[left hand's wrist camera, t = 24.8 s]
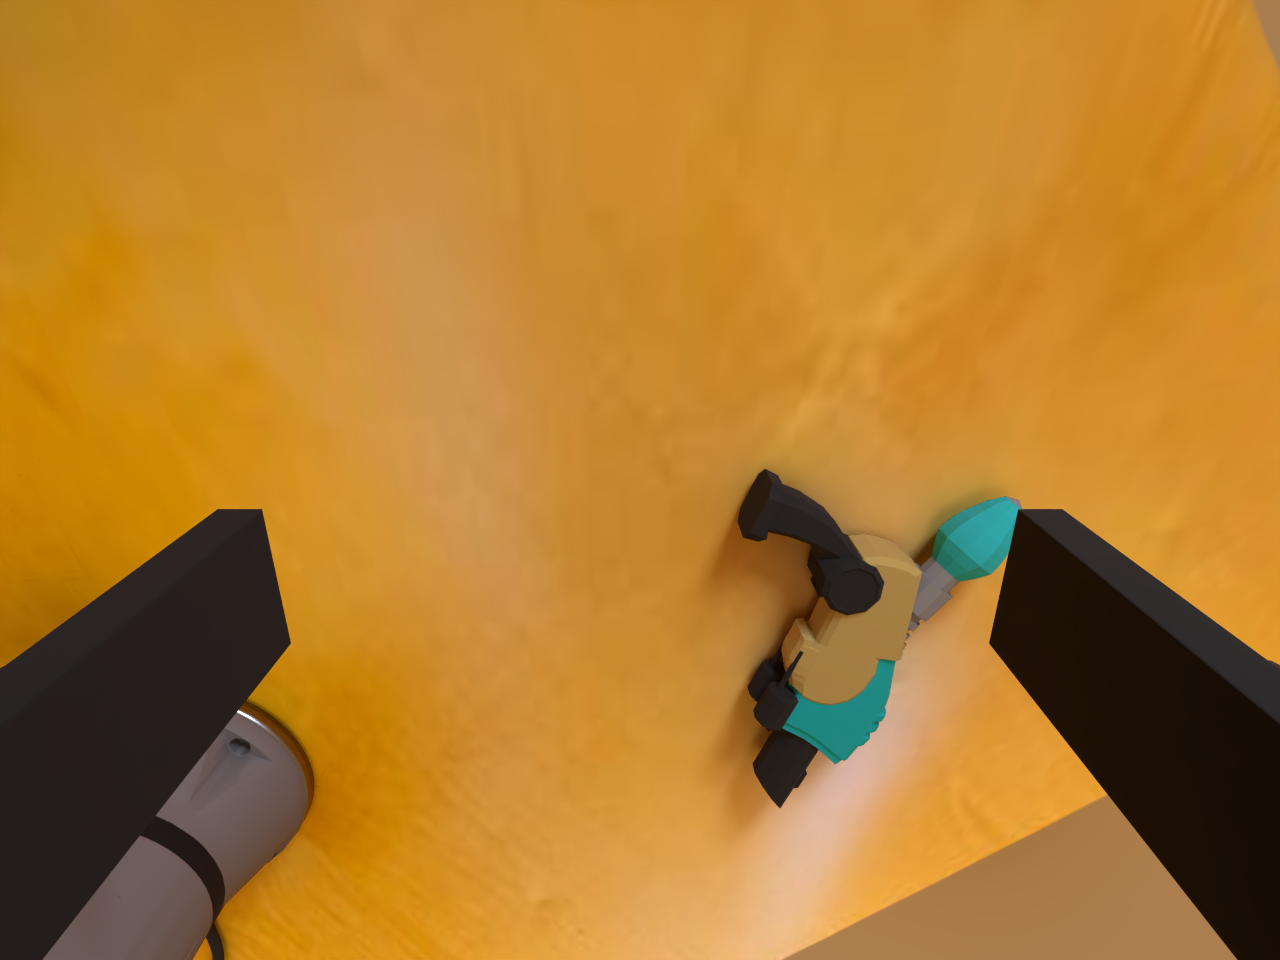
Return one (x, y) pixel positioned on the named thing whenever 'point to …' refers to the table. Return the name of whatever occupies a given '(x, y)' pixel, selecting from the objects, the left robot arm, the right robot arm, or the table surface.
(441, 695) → the table surface
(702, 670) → the table surface
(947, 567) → the toy gun
